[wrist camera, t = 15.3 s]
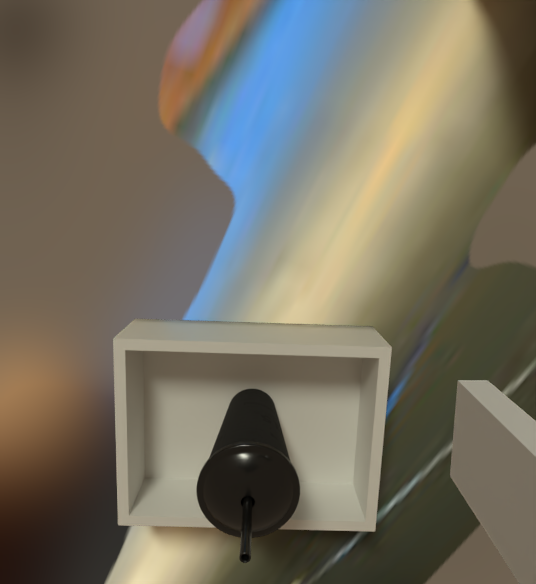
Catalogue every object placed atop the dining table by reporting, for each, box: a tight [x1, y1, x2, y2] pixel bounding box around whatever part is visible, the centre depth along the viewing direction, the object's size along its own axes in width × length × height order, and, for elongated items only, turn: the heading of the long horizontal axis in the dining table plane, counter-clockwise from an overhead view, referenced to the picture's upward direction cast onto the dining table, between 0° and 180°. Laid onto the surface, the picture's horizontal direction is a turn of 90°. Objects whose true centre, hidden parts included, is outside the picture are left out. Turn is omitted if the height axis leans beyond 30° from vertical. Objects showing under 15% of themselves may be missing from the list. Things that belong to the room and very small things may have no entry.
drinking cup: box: [196, 389, 300, 563], centre depth 37 cm, size 8×8×20 cm
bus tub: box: [113, 319, 392, 531], centre depth 45 cm, size 24×18×7 cm
